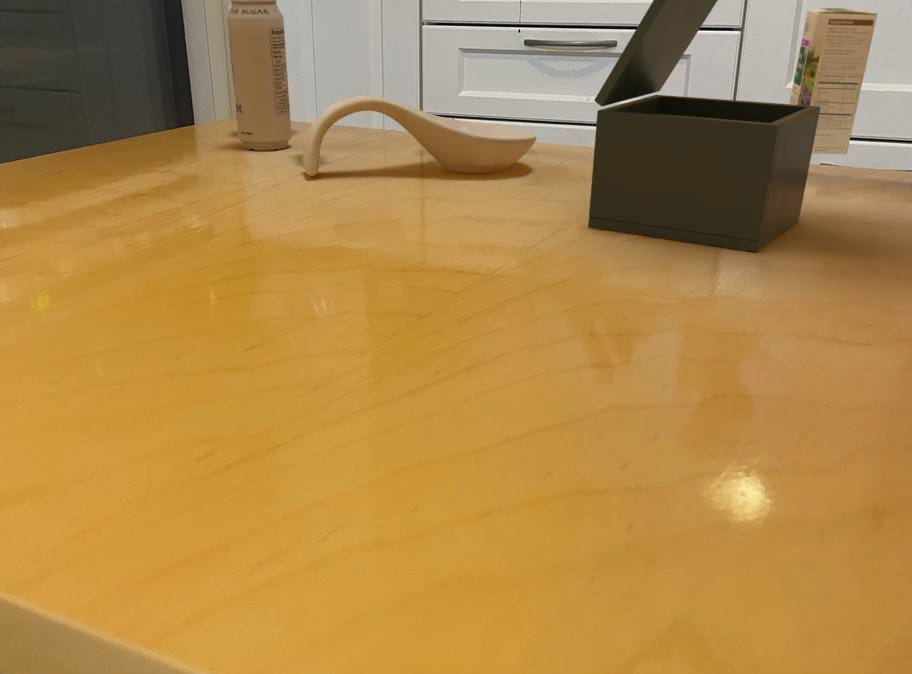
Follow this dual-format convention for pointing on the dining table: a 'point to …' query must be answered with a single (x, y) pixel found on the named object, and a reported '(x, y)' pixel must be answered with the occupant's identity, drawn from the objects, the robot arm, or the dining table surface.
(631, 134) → the chest
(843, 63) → the syrup box
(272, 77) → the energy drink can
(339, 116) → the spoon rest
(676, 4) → the lid
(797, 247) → the dining table surface
